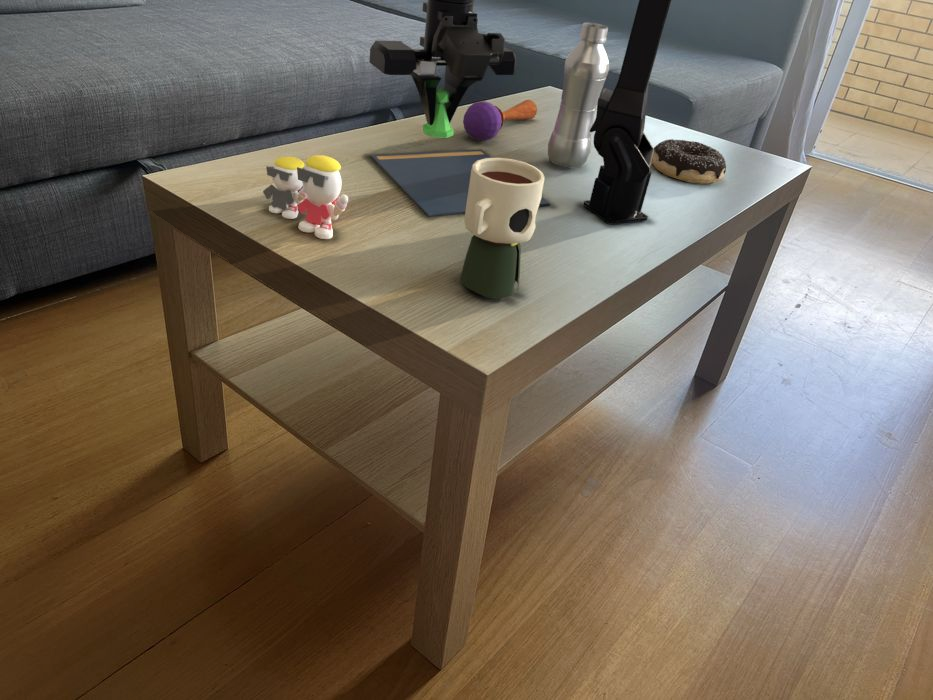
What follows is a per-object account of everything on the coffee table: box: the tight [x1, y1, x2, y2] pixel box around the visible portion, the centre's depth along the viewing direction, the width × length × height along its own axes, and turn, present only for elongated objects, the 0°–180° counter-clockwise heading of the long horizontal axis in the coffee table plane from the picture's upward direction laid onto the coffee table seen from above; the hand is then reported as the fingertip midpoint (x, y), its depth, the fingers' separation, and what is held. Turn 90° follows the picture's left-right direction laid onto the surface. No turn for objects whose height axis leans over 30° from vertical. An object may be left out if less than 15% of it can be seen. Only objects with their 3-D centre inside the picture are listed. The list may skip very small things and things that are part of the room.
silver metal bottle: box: [547, 22, 610, 169], centre depth 105 cm, size 6×7×20 cm
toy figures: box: [262, 154, 349, 240], centre depth 81 cm, size 12×4×8 cm, turn 49°
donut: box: [651, 138, 727, 185], centre depth 114 cm, size 11×12×4 cm
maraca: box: [462, 99, 538, 142], centre depth 119 cm, size 6×6×20 cm
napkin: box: [370, 149, 551, 217], centre depth 100 cm, size 18×20×1 cm
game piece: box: [422, 87, 455, 139], centre depth 97 cm, size 4×4×6 cm
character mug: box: [459, 157, 546, 299], centre depth 73 cm, size 11×7×13 cm, turn 149°
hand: (438, 124), depth 98 cm, fingers closed on game piece, 2 cm apart
